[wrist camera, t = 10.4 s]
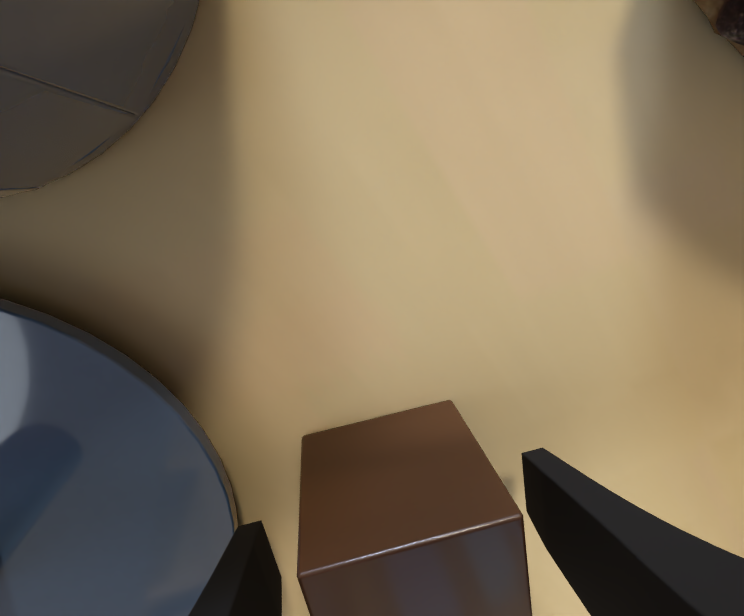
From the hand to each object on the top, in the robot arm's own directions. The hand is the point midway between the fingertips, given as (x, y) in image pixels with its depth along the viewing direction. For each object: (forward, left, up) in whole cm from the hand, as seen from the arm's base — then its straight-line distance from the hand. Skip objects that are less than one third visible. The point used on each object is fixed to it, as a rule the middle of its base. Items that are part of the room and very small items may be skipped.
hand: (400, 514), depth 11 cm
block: (0, 0, -2) cm, 2 cm away
